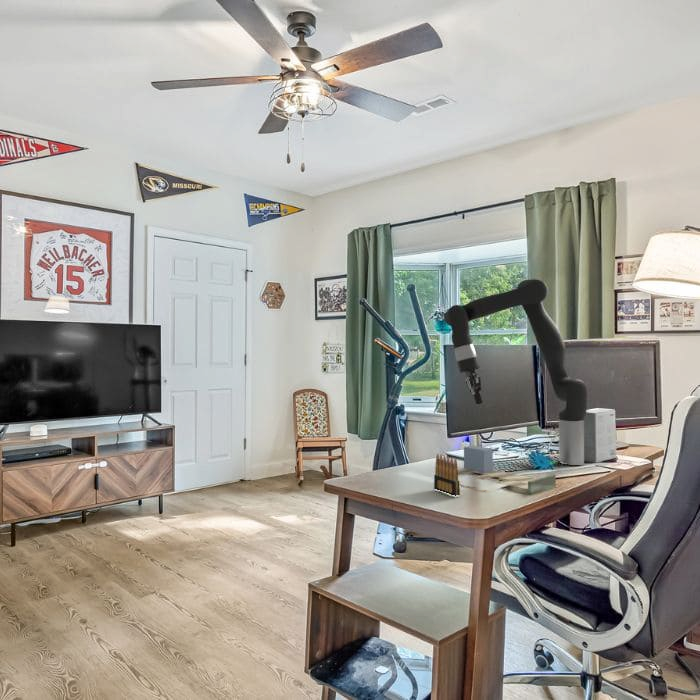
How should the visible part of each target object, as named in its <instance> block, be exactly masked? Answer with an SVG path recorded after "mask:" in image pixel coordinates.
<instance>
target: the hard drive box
mask: <svg viewBox="0 0 700 700" xmlns="http://www.w3.org/2000/svg"><path fill="white" fill-rule="evenodd" d="M616 428H617V427H616V410H615V409H612V408H603V407H602V408H601V407H597V408H591V409H586V414H585V416H584V462H589V463H593V464H594V463H595V464H598V463H600V462H601V463H602V462H603V461H604V462H605V461H608V460H612V459H613V460H614V459H617V434H616V433H617V432H616V431H617V429H616Z"/></svg>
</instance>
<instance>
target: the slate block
mask: <svg viewBox="0 0 700 700" xmlns="http://www.w3.org/2000/svg"><path fill="white" fill-rule="evenodd" d="M493 452H494V451H493V448H491V447H485V446H479V445H478V446H477V445H468V446H463V468H464V469H467V470H472V471H476V472H481V473H487V472H491V471H493V470H494V465H493V464H494V463H493V461H494V457H493V456H494V453H493Z"/></svg>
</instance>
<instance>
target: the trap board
mask: <svg viewBox="0 0 700 700" xmlns="http://www.w3.org/2000/svg"><path fill="white" fill-rule="evenodd" d="M473 473H476V474H481V475H478V476H474V478H475V479H479V480H487V479H491V478H499V479H503V480H500V481H496V483H498V484H502V485H505V486H501V487H500V489H503V490H504V489H505V490H509V491H513V492H518V493H522V494H527V495H531V496H532V495H535V494H538V493H542V492H545V491H548V490H551V489H554V488H557V486H556V475H555V474H553V473H552V474H549V475H546V476H541V477H539V478H538V477H537V478H534V477H530V476H525V475H519V474H515V473H510V472H505V471H502V470H497V469H496V470H495V469H493V471H491V472H487V473H481V472H476V471H472V470H467V469H464V467H463V468H459V469H458V475H461V476H465V475H467V474H473Z"/></svg>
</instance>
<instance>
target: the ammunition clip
mask: <svg viewBox="0 0 700 700" xmlns="http://www.w3.org/2000/svg"><path fill="white" fill-rule="evenodd" d="M434 468H435V470H434V471H435V473H434V476H433V477H434V479H433V490H434V489H437V490H440V491H443V492H446V493H449V494H451V495H455V496H456V495H460V496H461V493H460V492H461V491H460V490H461V489H460V480H459V474H458V470H459V469H458V461H457V458H455V459H453V457H451V458H450V457H449V456H447V457H446V456H445V455H444V456H442V454H440V455H439V453H437V454H436V457H435V467H434Z"/></svg>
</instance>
